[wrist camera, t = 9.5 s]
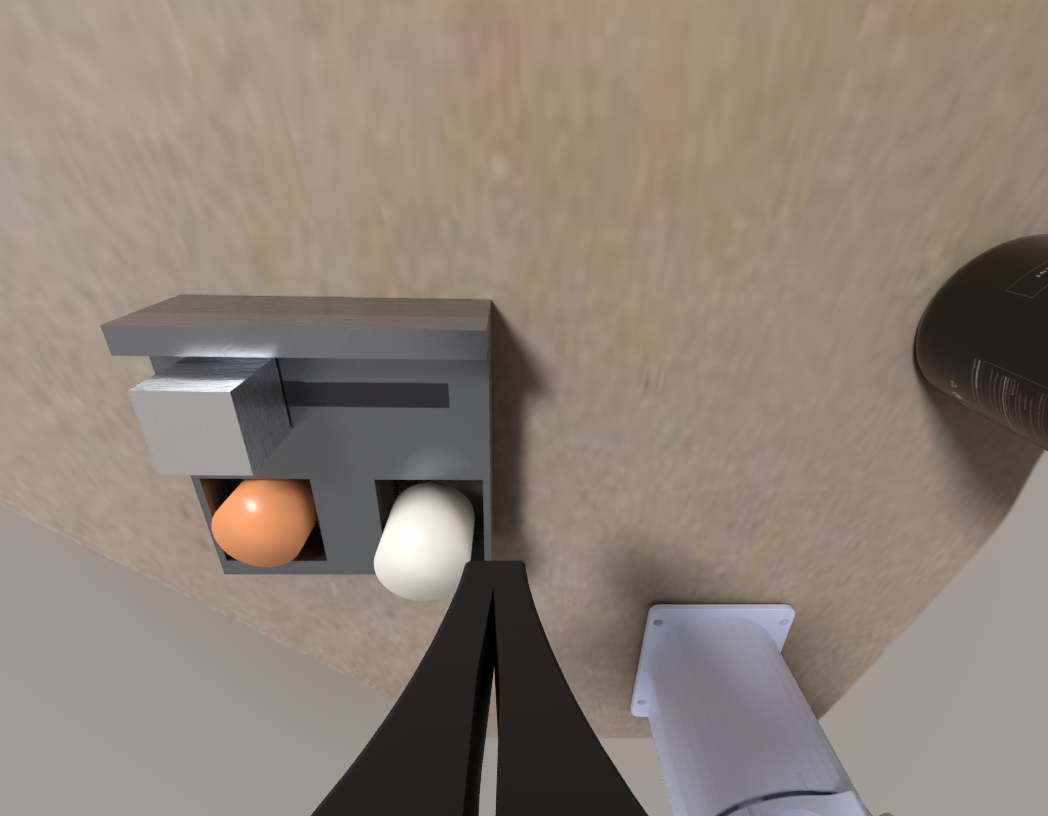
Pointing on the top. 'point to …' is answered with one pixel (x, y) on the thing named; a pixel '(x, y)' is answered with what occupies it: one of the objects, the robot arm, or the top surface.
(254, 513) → the orange button
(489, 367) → the panel
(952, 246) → the top surface
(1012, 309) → the supplement bottle
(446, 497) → the ivory button
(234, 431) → the slider knob
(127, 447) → the top surface
